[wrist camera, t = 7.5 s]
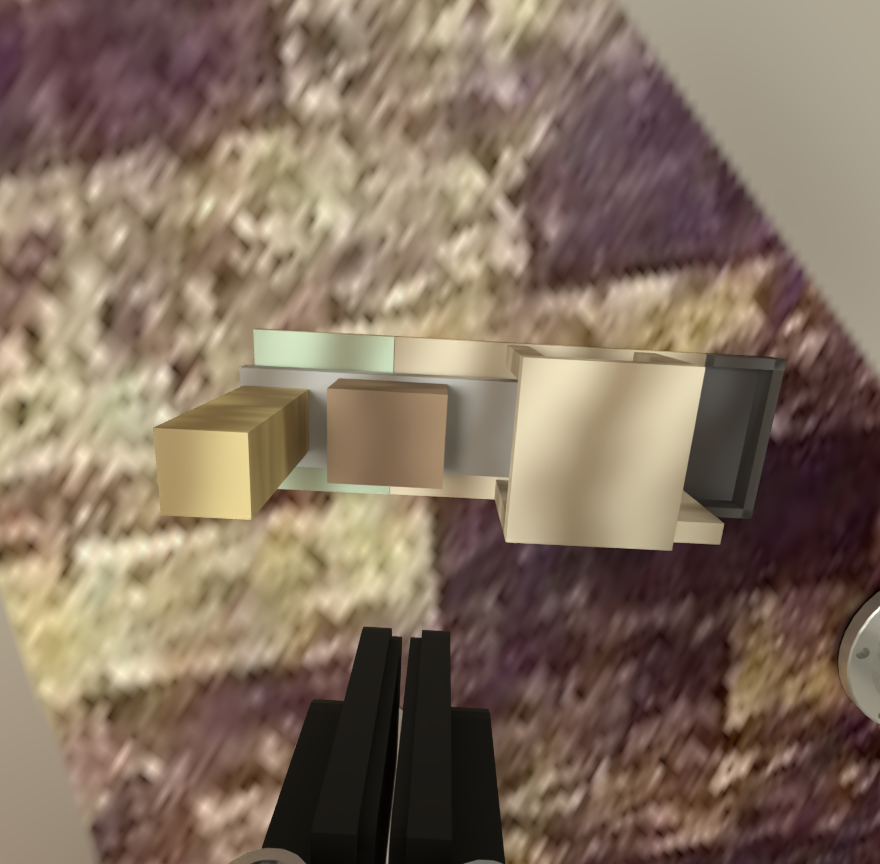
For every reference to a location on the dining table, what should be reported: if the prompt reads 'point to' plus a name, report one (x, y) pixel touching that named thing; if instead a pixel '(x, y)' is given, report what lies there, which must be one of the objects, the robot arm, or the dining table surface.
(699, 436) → the tunnel
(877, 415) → the dining table surface
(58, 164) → the dining table surface
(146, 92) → the dining table surface
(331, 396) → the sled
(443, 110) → the dining table surface
